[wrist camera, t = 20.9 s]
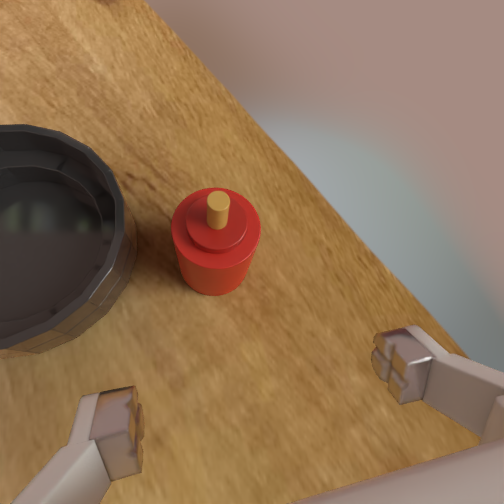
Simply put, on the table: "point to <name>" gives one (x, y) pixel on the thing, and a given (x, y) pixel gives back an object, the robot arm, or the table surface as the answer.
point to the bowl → (57, 239)
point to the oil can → (215, 239)
